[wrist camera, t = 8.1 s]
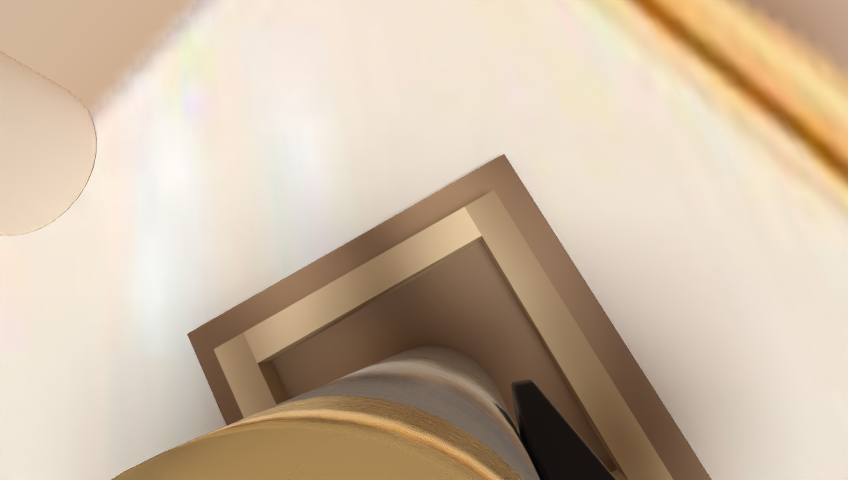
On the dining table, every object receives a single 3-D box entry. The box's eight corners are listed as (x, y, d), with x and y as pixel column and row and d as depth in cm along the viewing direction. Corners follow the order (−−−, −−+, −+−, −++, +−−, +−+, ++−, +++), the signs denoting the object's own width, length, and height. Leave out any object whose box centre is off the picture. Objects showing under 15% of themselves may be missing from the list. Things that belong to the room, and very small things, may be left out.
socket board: (357, 703, 16) (343, 751, 14) (196, 333, 18) (167, 334, 17) (716, 496, 16) (748, 518, 14) (502, 159, 19) (506, 142, 17)
